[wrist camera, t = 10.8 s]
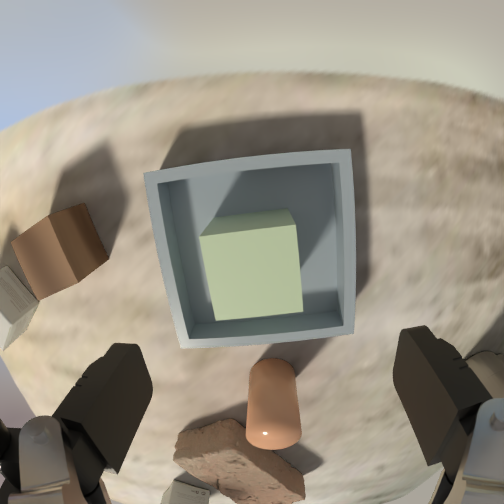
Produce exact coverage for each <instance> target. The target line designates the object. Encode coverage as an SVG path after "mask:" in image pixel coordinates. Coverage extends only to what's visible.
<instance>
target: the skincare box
mask: <svg viewBox="0 0 504 504" xmlns="http://www.w3.org/2000/svg"><path fill="white" fill-rule="evenodd" d="M209 496H210V491H208V490H205V489H201V488H197V487H194V486H191V485H188V484H185V483H182V482H179V481H176V480H174V481H173V482H172V484H171V486H170V487H169V489H168V490H167V491H166V492H165V493H164V494H163V496H162V501H161V504H209Z"/></svg>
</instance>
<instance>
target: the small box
mask: <svg viewBox="0 0 504 504" xmlns="http://www.w3.org/2000/svg"><path fill="white" fill-rule="evenodd" d="M38 304H39V302H38V301H37V300H36V298H35V297H34V296H33V295H32V294H31V293H30V292H29V291H28V290H27V289H26V287H25V286H24V285H23V284H22V283H21V282H20V280H19V279H18V278H17V277H16V276H15V274H14V273H13V272H12V271H11V269H10V268H9V267H8V266H5V267H3V268H1V269H0V348H1V349H2V351H4V350H5V349H6V348H7V347H8V346H9V345H10V344H11V343H13V342H14V341H15V340H16V339H17V338H18V337H19V336H20V335H21V334H22V333H24V332H25V331H26V330H27V327H28V325H29V323H30V321H31V319H32V317H33V315H34V313H35V311H36V308H37V306H38Z"/></svg>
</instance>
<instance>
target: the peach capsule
mask: <svg viewBox="0 0 504 504" xmlns="http://www.w3.org/2000/svg"><path fill="white" fill-rule="evenodd" d="M301 435H302V431H301V422H300V414H299V405H298V397H297V389H296V381H295V373H294V369H293V367H292V366H291V365H290V364H289V363H288V362H286V361H284V360H281V359H277V358H270V359H264V360H261V361H259V362H258V363H256V364H255V365H254V366H253V367H252V368H251V371H250V376H249V392H248V408H247V423H246V438H247V440H248V441H249V443H251V444H252V445H254V446H256V447H258V448H262V449H268V450H277V449H283V448H287V447H289V446H291V445H293V444H295V443H296V442H297V441H298V440H299V439H300V437H301Z"/></svg>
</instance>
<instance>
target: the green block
mask: <svg viewBox="0 0 504 504" xmlns="http://www.w3.org/2000/svg"><path fill="white" fill-rule="evenodd" d="M199 240H200V245H201V250H202V256H203V261H204V266H205V271H206V276H207V281H208V286H209V291H210V296H211V300H212V305H213V310H214V315H215V319H216V321H218V320H230V319H241V318H251V317H261V316H270V315H279V314H288V313H296V312H303V301H302V287H301V275H300V263H299V252H298V241H297V231H296V224H295V222H294V220H293V218H292V216H291V214H290V212H289V210H288V208H286V209H277V210H269V211H261V212H253V213H245V214H237V215H230V216H222V217H215V218H213V219H212V221H211V222H210V223H209V224H208V226H207V227H206V228H205V230H204V231H203V232H202V233H201V235H200V236H199Z"/></svg>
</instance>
